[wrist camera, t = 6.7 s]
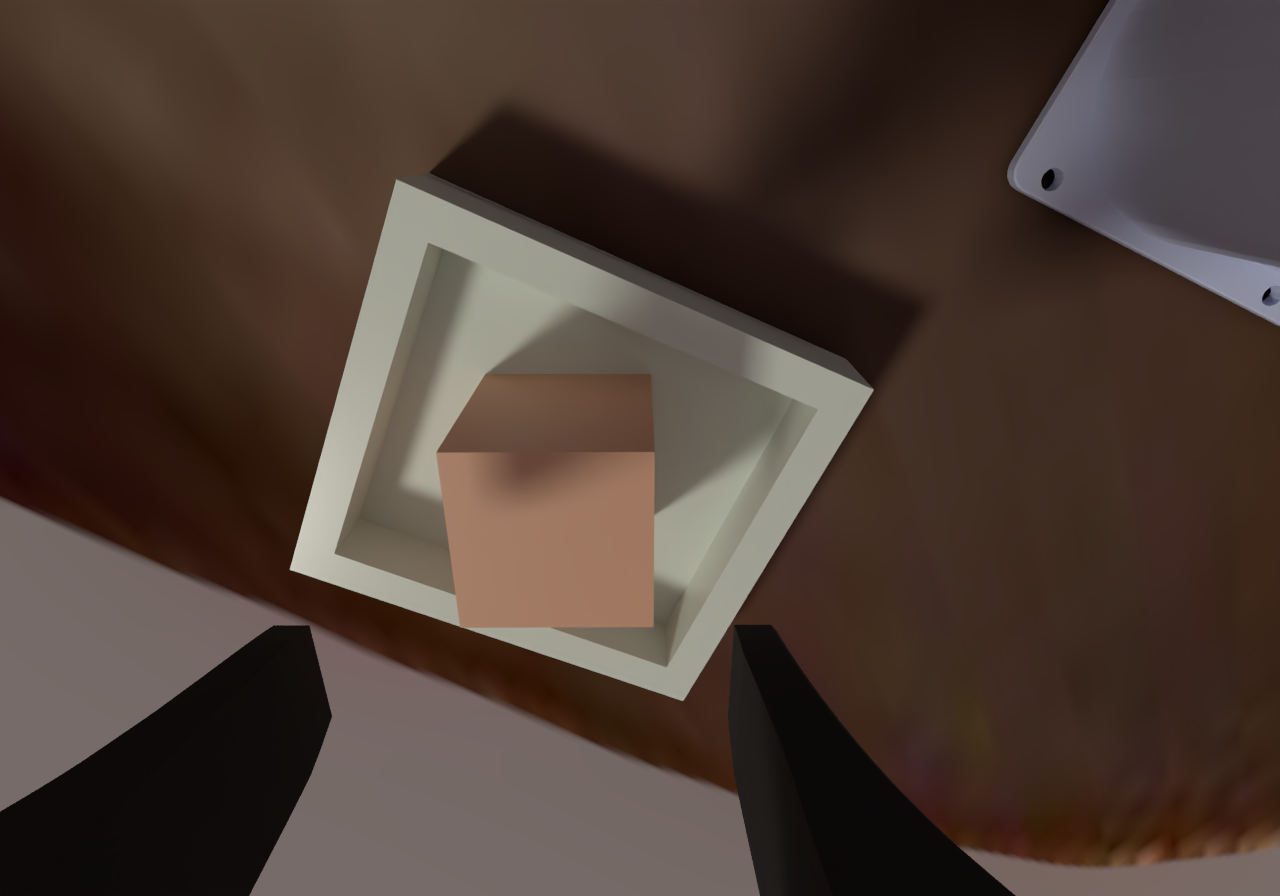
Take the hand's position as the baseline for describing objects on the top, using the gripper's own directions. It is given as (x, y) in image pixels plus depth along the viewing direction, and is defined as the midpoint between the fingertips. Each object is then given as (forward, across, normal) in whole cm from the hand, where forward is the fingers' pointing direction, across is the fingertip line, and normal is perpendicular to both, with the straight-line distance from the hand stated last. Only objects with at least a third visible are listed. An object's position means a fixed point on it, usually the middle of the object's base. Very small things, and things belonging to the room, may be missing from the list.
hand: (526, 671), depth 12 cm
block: (+9, 0, 0) cm, 9 cm away
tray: (+9, 0, 0) cm, 9 cm away
